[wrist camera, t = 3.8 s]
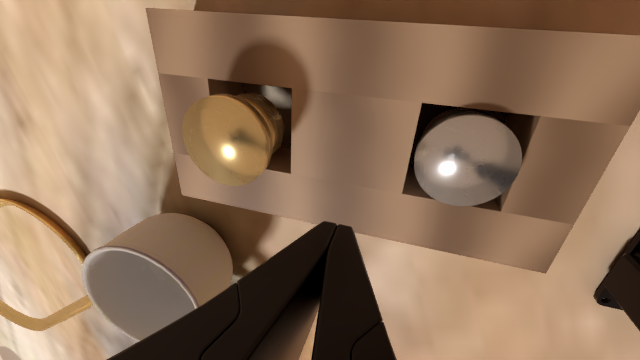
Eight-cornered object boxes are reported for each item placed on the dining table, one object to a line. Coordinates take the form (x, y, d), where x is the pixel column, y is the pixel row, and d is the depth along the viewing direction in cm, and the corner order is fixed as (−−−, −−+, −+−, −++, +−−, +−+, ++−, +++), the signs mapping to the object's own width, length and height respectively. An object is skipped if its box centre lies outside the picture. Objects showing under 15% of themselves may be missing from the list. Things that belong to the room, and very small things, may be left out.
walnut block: (615, 36, 14) (680, 38, 11) (522, 231, 20) (545, 273, 16) (192, 12, 19) (145, 7, 16) (213, 172, 25) (181, 195, 21)
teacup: (136, 207, 30) (54, 259, 23) (216, 187, 26) (144, 243, 19) (201, 306, 34) (149, 374, 28) (278, 302, 30) (239, 381, 23)
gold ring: (128, 285, 38) (117, 294, 36) (36, 331, 54) (27, 338, 52) (14, 168, 33) (-3, 174, 32) (-49, 256, 49) (-62, 262, 48)
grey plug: (515, 106, 16) (539, 123, 13) (486, 184, 18) (501, 214, 15) (423, 96, 17) (425, 110, 14) (406, 171, 19) (406, 196, 16)
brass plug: (290, 90, 16) (264, 102, 13) (290, 167, 18) (267, 193, 15) (214, 81, 17) (174, 91, 14) (223, 156, 19) (189, 177, 16)
